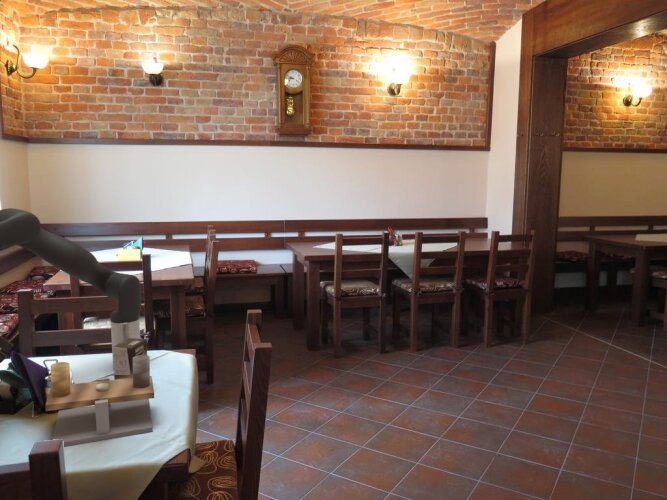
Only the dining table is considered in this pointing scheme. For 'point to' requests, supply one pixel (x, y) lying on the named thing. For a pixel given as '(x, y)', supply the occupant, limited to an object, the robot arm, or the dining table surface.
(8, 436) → the dining table surface
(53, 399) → the plate
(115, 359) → the coffee box
